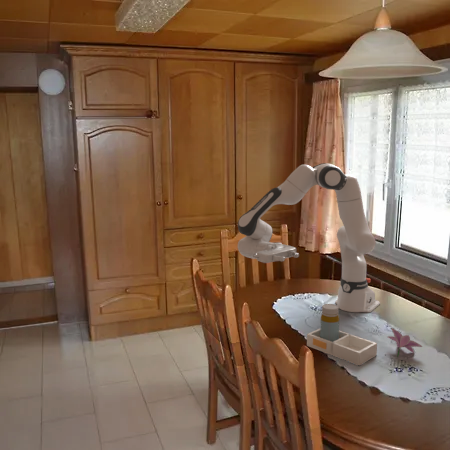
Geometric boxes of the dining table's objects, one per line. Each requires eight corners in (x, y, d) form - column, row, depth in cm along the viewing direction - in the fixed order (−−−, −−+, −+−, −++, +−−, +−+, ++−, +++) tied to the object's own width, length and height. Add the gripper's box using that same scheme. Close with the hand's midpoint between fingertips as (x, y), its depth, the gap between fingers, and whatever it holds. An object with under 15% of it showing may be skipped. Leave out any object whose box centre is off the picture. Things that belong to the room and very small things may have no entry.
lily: (423, 364, 172) (428, 337, 174) (398, 355, 168) (402, 328, 171) (401, 360, 183) (405, 335, 185) (376, 352, 180) (381, 327, 182)
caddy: (325, 336, 193) (325, 325, 192) (376, 355, 176) (377, 343, 176) (306, 345, 185) (306, 334, 184) (358, 366, 168) (358, 353, 167)
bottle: (338, 347, 181) (340, 310, 178) (319, 346, 182) (321, 308, 180) (338, 340, 188) (339, 303, 185) (320, 338, 189) (321, 302, 186)
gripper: (250, 248, 204) (274, 254, 194) (281, 241, 217) (305, 246, 207) (250, 262, 205) (274, 269, 195) (281, 255, 219) (305, 260, 208)
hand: (290, 257), depth 201 cm, fingers open, 8 cm apart
